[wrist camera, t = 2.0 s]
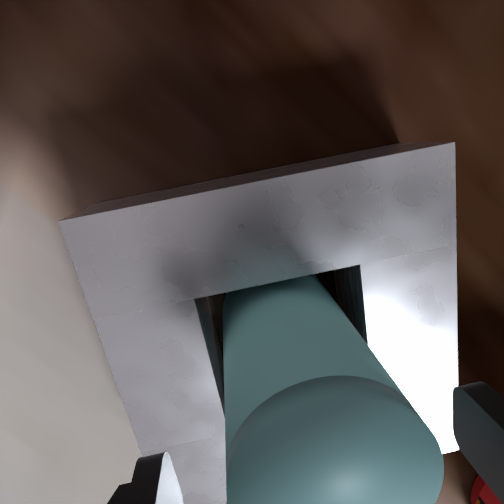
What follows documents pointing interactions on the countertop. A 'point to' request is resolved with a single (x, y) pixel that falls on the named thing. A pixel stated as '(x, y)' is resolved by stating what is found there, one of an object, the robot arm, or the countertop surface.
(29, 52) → the countertop surface
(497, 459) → the robot arm
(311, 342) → the teal cylinder
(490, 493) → the canned food
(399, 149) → the housing
